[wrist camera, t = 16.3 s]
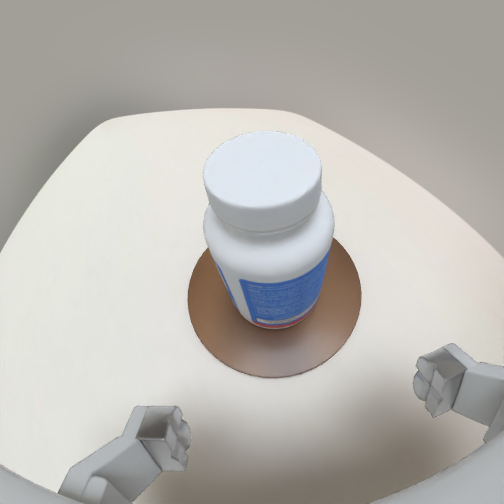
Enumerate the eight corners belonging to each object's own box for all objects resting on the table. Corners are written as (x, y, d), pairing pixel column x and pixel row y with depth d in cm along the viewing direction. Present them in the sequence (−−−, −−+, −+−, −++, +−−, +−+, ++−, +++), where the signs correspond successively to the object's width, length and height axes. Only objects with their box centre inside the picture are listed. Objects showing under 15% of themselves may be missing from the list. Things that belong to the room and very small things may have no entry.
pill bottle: (334, 277, 17) (371, 151, 9) (287, 348, 15) (292, 265, 7) (264, 237, 19) (247, 109, 11) (213, 298, 17) (151, 185, 9)
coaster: (309, 201, 21) (309, 198, 20) (390, 326, 15) (392, 324, 15) (172, 255, 20) (170, 252, 19) (223, 405, 14) (221, 405, 13)
